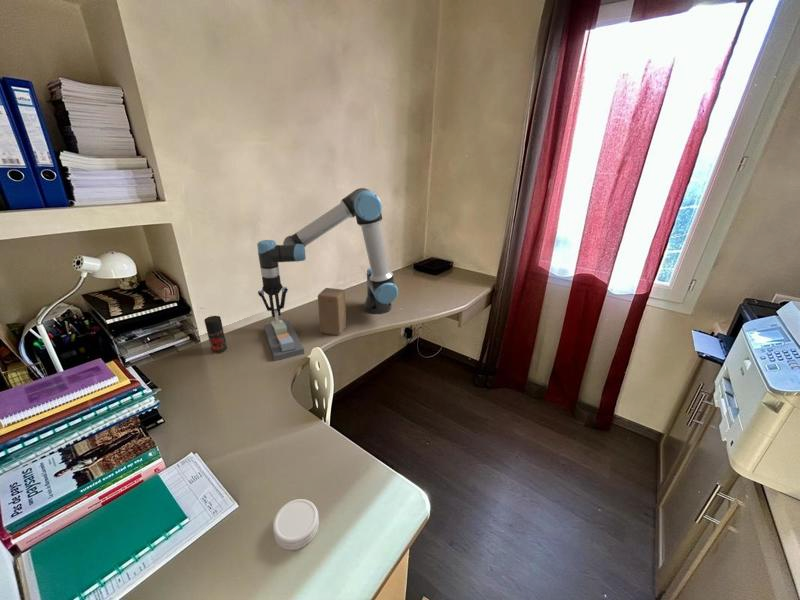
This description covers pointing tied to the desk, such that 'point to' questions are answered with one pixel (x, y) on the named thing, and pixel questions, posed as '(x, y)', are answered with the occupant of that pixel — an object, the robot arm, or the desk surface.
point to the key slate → (286, 343)
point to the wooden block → (332, 311)
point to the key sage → (280, 328)
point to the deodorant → (215, 334)
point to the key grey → (275, 323)
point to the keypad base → (276, 347)
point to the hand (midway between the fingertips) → (277, 322)
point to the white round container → (296, 524)
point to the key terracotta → (282, 336)
